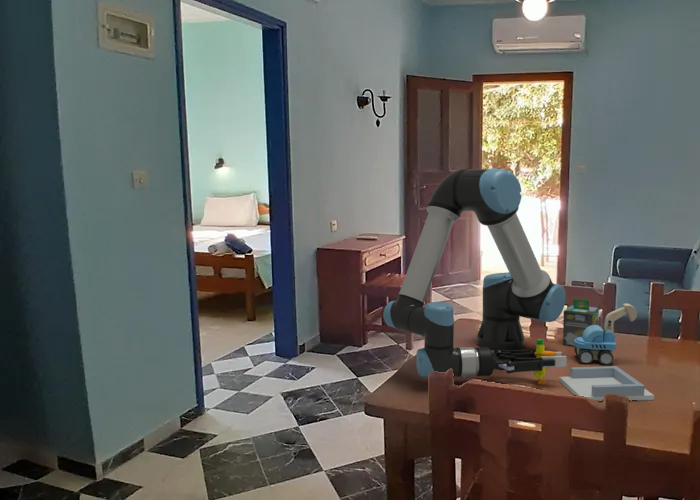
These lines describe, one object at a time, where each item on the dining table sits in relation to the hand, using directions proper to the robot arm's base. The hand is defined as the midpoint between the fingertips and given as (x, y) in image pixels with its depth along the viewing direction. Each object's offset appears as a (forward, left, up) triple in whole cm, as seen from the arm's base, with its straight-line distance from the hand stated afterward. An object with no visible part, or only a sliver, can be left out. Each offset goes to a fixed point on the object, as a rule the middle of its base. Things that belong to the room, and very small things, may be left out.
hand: (563, 359), depth 166 cm
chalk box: (-4, +40, -7) cm, 41 cm away
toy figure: (-4, -3, -7) cm, 9 cm away
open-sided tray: (+11, 0, -7) cm, 12 cm away
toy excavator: (+6, +25, -7) cm, 26 cm away
